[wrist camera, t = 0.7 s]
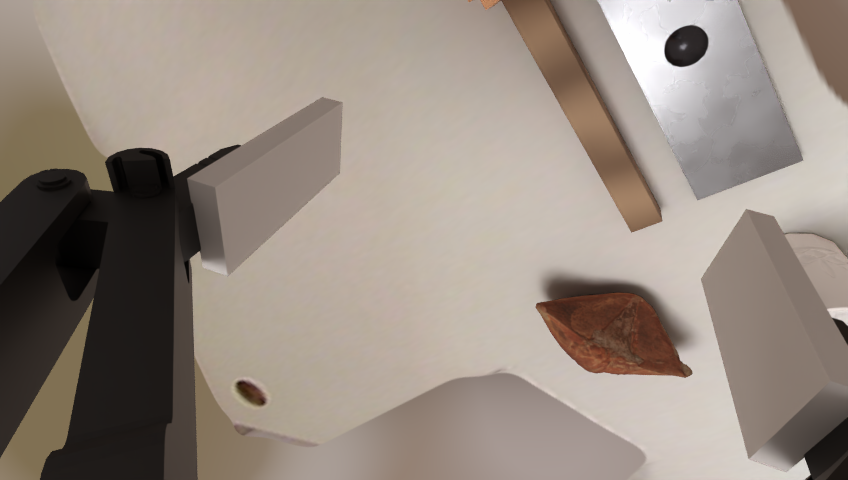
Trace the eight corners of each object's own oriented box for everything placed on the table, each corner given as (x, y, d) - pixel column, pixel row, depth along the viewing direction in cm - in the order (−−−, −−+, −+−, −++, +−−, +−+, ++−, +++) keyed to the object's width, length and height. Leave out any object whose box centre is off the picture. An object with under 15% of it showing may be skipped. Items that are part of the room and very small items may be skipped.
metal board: (511, -174, 29) (508, -177, 28) (619, -279, 25) (619, -285, 25) (696, 195, 37) (697, 200, 36) (799, 156, 33) (803, 160, 32)
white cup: (836, 209, 34) (904, 291, 26) (868, 291, 36) (940, 390, 28) (716, 247, 38) (743, 327, 30) (752, 318, 40) (785, 411, 32)
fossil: (509, 306, 44) (567, 379, 35) (571, 239, 42) (646, 297, 34) (586, 357, 50) (651, 430, 41) (642, 300, 48) (721, 363, 40)
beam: (442, -105, 32) (427, -109, 29) (572, -231, 27) (568, -249, 24) (626, 222, 40) (627, 241, 37) (754, 173, 35) (765, 192, 32)
